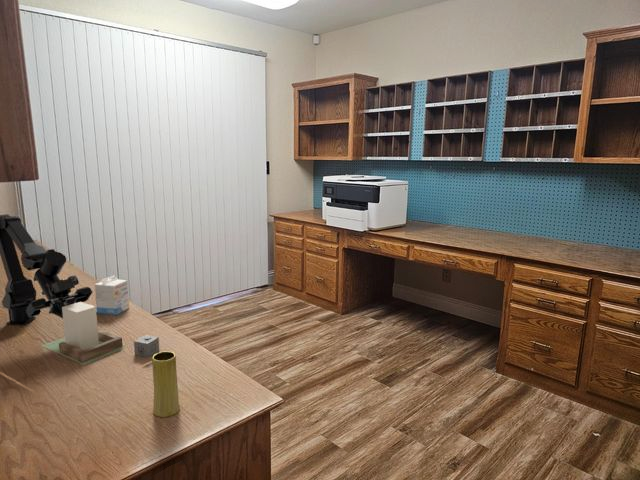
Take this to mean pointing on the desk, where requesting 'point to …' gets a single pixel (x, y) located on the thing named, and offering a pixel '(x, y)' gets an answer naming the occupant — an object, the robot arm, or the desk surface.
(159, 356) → the vase
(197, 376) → the desk surface
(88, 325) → the cream block
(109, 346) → the wooden tray
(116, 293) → the ink box
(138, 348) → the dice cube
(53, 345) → the putting strip
